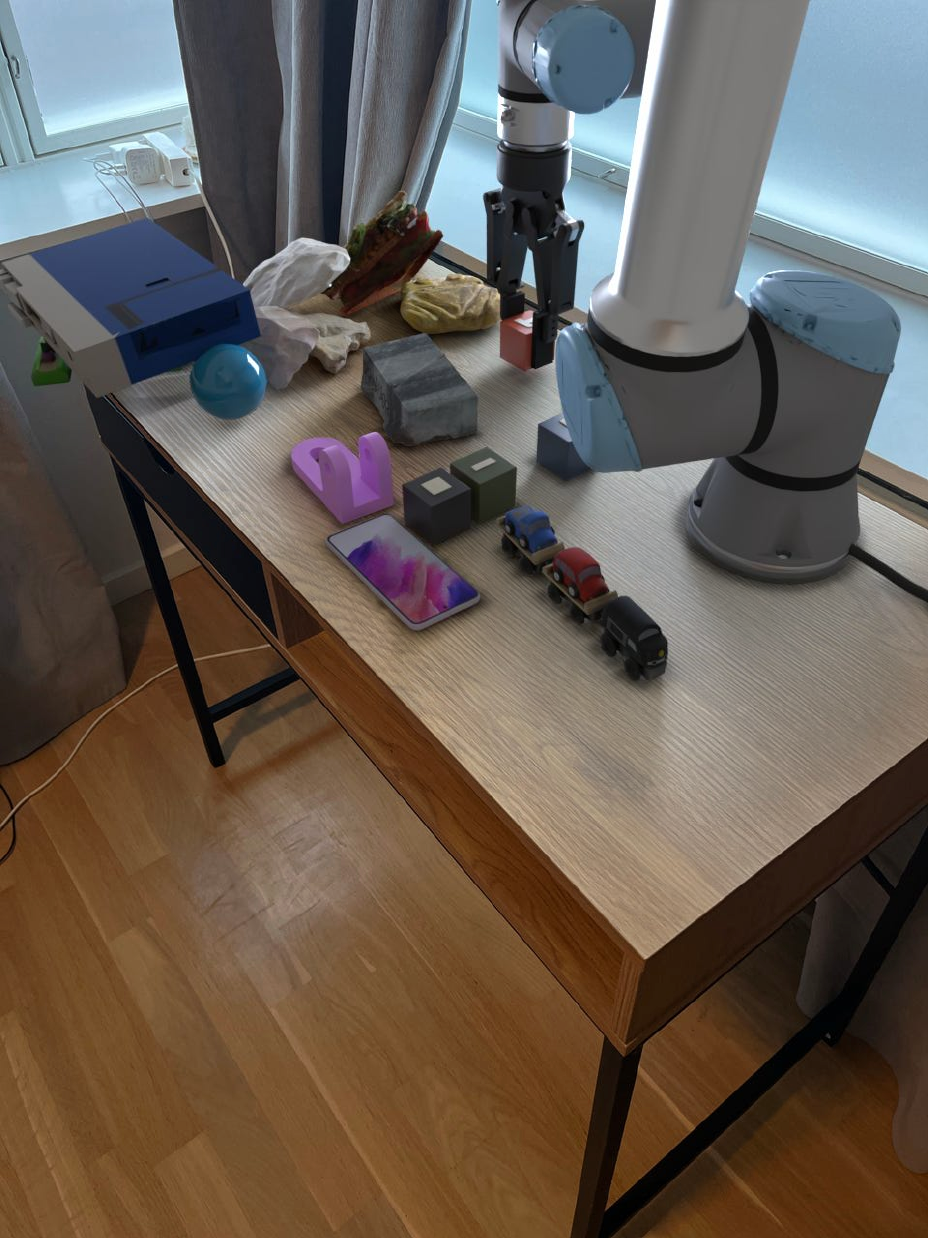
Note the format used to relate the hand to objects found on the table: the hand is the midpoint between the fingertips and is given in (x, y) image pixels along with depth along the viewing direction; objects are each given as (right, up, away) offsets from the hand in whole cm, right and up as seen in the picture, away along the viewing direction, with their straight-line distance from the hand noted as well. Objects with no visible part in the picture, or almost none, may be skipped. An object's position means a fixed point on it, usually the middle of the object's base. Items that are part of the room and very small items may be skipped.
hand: (526, 356), depth 112 cm
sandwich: (-15, +13, +11) cm, 23 cm away
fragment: (-27, +10, +9) cm, 30 cm away
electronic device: (-37, -3, -14) cm, 40 cm away
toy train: (+2, -29, -29) cm, 41 cm away
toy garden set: (-47, +4, +7) cm, 48 cm away
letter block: (0, 0, 0) cm, 0 cm away
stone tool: (-25, -1, -4) cm, 25 cm away
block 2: (-5, -19, -19) cm, 27 cm away
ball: (-36, -7, -8) cm, 38 cm away
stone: (-23, +2, +5) cm, 24 cm away
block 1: (-10, -22, -21) cm, 32 cm away
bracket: (-20, -17, -16) cm, 30 cm away
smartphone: (-13, -26, -26) cm, 39 cm away
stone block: (-13, -8, -6) cm, 16 cm away
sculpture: (-7, +5, +5) cm, 10 cm away
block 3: (+3, -15, -14) cm, 20 cm away
